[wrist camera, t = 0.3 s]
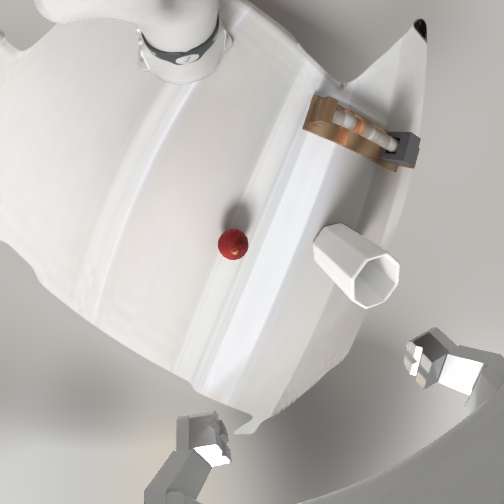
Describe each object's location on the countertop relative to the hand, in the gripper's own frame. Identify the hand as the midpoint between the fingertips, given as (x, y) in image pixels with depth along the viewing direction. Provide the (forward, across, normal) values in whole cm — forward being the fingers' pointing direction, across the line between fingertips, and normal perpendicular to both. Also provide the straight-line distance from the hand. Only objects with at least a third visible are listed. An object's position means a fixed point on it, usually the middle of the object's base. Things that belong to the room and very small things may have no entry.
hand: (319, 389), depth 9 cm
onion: (+48, +1, +9) cm, 48 cm away
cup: (+48, -21, +18) cm, 55 cm away
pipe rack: (+47, -31, -6) cm, 57 cm away
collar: (+45, -37, -3) cm, 58 cm away
